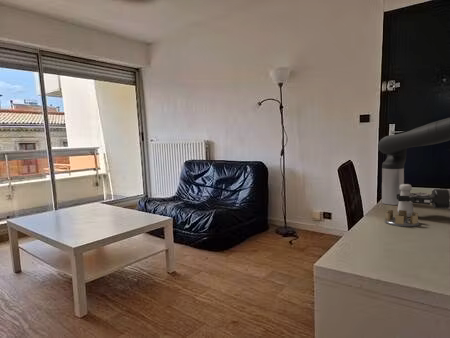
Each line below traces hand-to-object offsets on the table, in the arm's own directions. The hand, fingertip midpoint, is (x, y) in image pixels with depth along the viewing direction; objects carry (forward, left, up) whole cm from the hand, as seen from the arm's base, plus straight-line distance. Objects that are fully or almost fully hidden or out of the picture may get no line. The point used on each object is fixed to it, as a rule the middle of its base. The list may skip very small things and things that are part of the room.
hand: (397, 197), depth 123 cm
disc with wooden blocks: (+11, -4, -8) cm, 14 cm away
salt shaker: (+1, +3, -8) cm, 8 cm away
